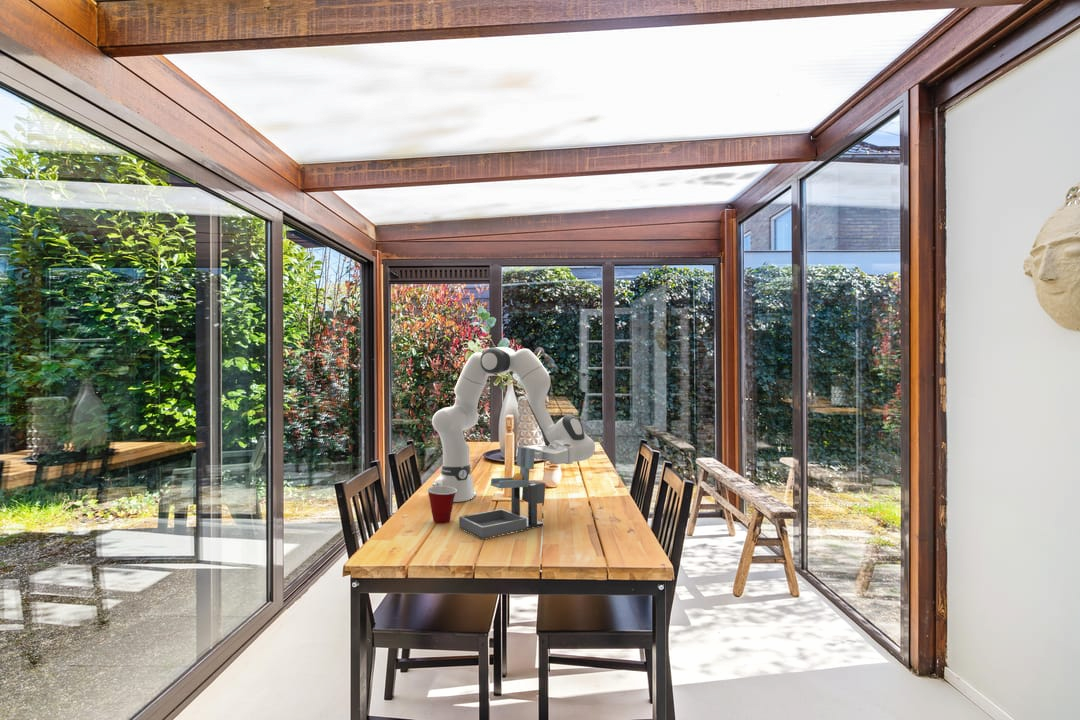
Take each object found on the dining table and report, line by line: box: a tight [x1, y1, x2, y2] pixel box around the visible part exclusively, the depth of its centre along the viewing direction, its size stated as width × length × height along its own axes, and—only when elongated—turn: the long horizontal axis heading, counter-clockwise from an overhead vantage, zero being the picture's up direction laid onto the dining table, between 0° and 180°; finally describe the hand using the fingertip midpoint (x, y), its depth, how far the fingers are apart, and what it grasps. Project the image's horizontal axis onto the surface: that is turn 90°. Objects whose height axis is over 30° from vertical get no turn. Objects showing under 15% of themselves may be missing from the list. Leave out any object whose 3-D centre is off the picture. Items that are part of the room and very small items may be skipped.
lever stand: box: [510, 484, 544, 529], centre depth 211 cm, size 14×7×15 cm, turn 35°
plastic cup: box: [426, 486, 457, 524], centre depth 214 cm, size 11×11×12 cm
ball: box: [512, 472, 523, 480], centre depth 210 cm, size 4×4×4 cm
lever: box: [490, 446, 546, 505], centre depth 210 cm, size 8×19×20 cm, turn 125°
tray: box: [458, 508, 528, 540], centre depth 204 cm, size 16×18×4 cm
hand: (528, 455), depth 213 cm, fingers closed, pressing on lever
